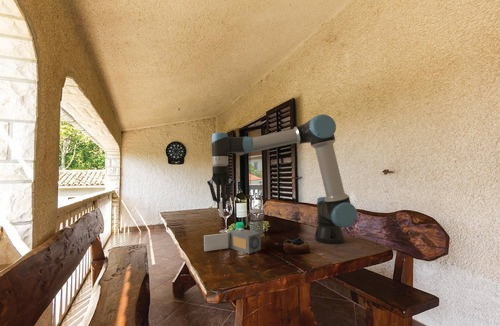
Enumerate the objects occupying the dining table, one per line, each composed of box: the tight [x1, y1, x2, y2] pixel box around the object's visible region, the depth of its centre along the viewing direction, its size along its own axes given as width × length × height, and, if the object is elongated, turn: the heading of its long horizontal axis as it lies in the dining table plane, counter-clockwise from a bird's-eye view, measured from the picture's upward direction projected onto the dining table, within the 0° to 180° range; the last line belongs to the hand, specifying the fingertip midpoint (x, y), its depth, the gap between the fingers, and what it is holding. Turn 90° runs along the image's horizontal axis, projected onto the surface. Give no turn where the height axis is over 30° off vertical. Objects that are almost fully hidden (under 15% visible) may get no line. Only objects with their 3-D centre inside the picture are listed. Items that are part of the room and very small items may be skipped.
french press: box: [245, 192, 266, 238], centre depth 144 cm, size 10×12×25 cm
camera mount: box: [234, 221, 245, 230], centre depth 132 cm, size 12×8×10 cm, turn 16°
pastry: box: [282, 237, 311, 255], centre depth 113 cm, size 11×12×6 cm
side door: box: [203, 232, 231, 252], centre depth 116 cm, size 13×2×7 cm, turn 113°
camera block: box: [228, 228, 262, 255], centre depth 117 cm, size 16×8×9 cm, turn 45°
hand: (221, 216), depth 113 cm, fingers closed
